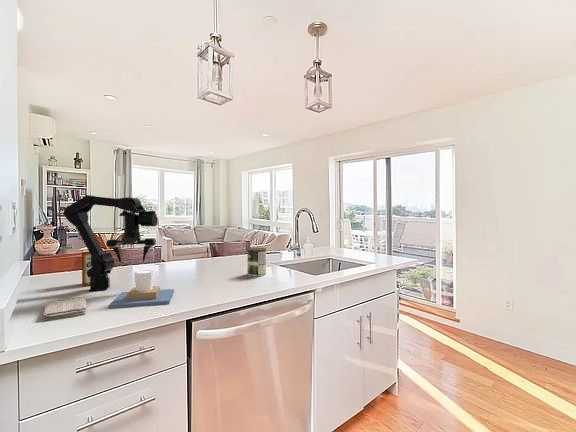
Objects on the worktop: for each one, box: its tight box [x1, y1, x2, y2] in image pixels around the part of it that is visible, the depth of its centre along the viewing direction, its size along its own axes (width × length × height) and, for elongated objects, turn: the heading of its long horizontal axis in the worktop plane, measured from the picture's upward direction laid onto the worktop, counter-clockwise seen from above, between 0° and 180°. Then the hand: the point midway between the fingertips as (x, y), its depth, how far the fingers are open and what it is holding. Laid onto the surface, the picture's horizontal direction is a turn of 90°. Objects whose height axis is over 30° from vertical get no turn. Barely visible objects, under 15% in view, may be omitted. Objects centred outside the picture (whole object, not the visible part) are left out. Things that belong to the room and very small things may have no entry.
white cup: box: [133, 269, 155, 292], centre depth 120 cm, size 7×7×7 cm
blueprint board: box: [108, 285, 175, 309], centre depth 120 cm, size 20×18×4 cm
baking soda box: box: [81, 248, 107, 287], centre depth 146 cm, size 10×6×16 cm
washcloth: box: [42, 297, 88, 322], centre depth 106 cm, size 12×18×3 cm, turn 37°
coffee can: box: [246, 247, 267, 277], centre depth 168 cm, size 10×10×14 cm
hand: (132, 262), depth 135 cm, fingers open, 9 cm apart
